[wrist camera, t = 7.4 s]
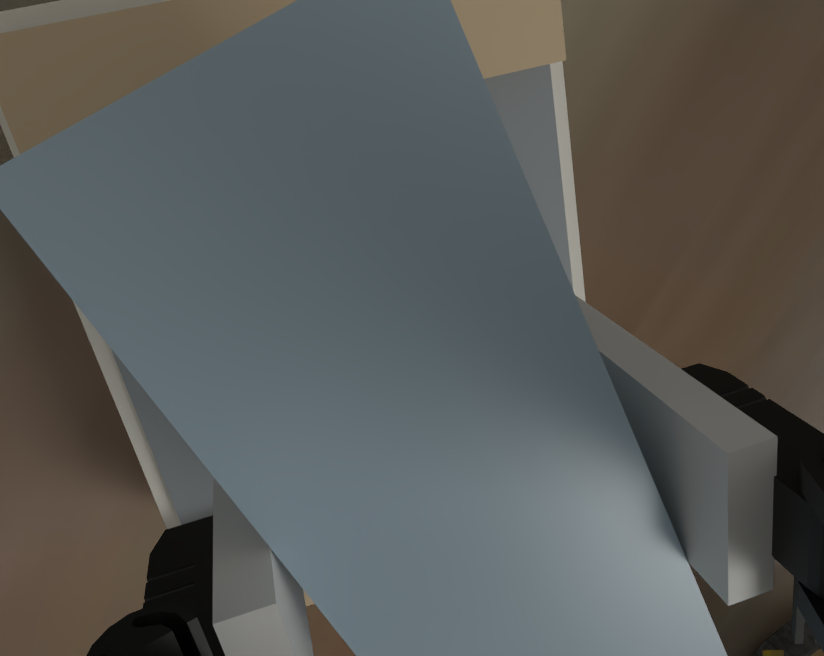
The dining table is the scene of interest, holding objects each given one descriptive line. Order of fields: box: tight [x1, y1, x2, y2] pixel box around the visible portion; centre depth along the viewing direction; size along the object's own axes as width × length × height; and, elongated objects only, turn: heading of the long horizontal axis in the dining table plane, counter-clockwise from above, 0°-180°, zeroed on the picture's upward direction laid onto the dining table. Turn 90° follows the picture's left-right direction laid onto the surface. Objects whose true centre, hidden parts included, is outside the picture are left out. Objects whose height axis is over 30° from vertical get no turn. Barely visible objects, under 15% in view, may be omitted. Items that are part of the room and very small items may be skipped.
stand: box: [0, 0, 585, 606], centre depth 22 cm, size 14×18×7 cm
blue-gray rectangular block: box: [0, 0, 727, 656], centre depth 13 cm, size 5×15×6 cm, turn 27°
